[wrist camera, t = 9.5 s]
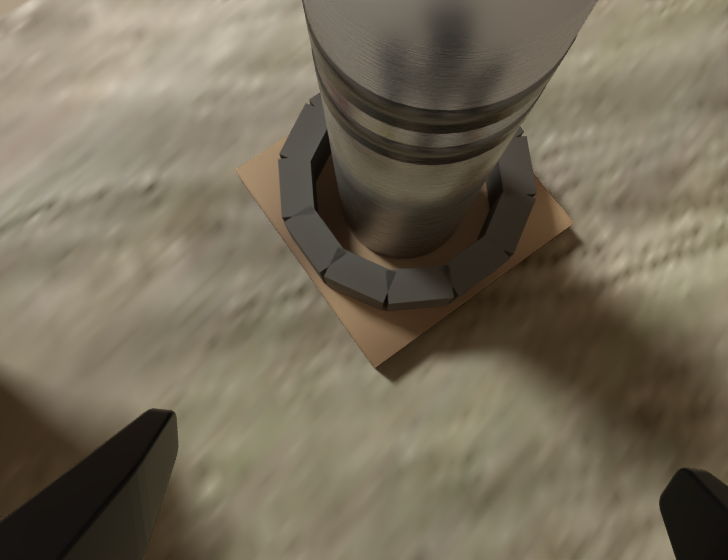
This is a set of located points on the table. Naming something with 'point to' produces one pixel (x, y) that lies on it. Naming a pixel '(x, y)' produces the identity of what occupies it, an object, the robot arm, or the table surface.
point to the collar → (389, 275)
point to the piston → (428, 103)
